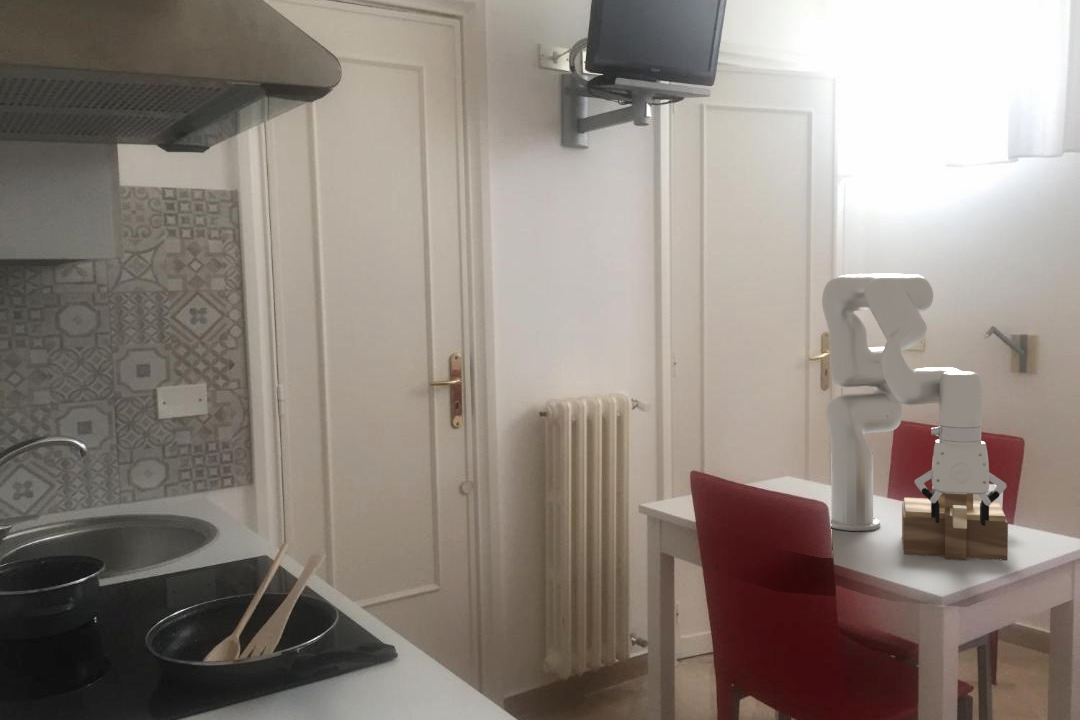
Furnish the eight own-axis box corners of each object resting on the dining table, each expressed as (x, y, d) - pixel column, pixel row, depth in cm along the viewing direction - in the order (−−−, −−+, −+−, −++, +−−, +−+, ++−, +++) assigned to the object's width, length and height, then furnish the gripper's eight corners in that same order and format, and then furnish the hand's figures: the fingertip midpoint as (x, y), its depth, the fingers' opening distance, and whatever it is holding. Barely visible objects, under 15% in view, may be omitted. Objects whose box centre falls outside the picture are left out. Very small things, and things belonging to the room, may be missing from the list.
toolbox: (902, 536, 212) (902, 476, 211) (999, 542, 205) (999, 479, 204) (903, 556, 197) (903, 491, 196) (1008, 563, 190) (1009, 496, 189)
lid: (904, 506, 211) (904, 480, 210) (997, 511, 204) (998, 483, 204) (905, 521, 199) (905, 492, 198) (1005, 526, 192) (1005, 497, 191)
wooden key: (950, 516, 191) (950, 497, 191) (962, 517, 191) (962, 498, 190) (953, 527, 183) (953, 507, 182) (966, 528, 182) (966, 508, 182)
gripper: (912, 436, 181) (912, 525, 183) (1012, 438, 175) (1011, 530, 177) (911, 430, 188) (911, 515, 190) (1006, 432, 182) (1006, 520, 184)
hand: (959, 522), depth 183 cm, fingers open, 7 cm apart
